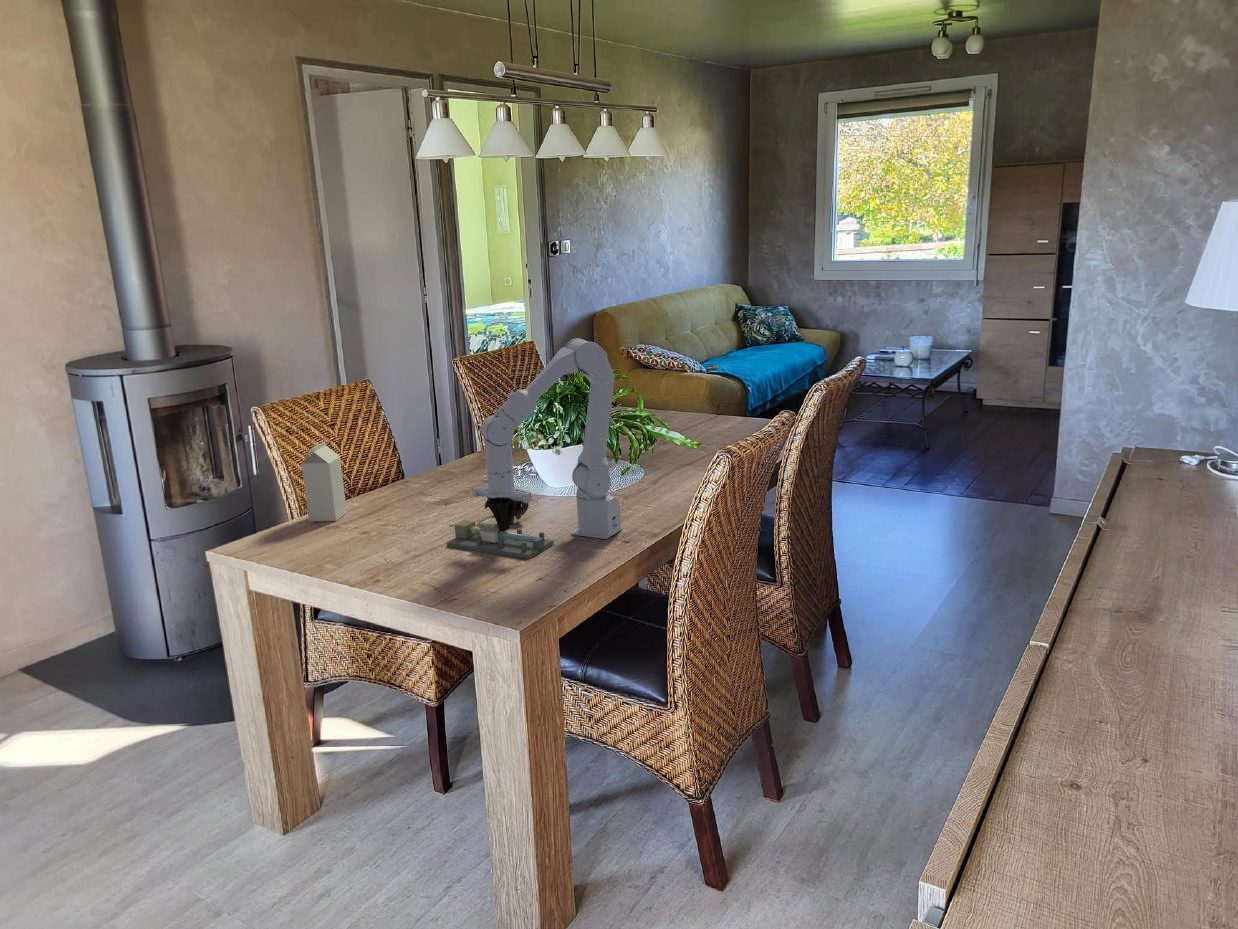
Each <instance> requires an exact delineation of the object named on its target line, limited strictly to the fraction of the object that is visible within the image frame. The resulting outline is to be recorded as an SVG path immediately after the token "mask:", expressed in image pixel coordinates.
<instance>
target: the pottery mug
mask: <svg viewBox="0 0 1238 929" xmlns="http://www.w3.org/2000/svg"><path fill="white" fill-rule="evenodd" d="M486 498H487V499H486V501H485V503H484V510H486V509H487V508H489V507H488V506H487V502H488V501H490V498H489V497H486ZM528 509H529V502H528V503H523V501H518V502H517V504H516V506H515V508H514V510H513V513H512V517H511V522H510V525H514V524H515V523H514V522H515V518H516V520H520V519H521V518H522V516H523V515H525V514H526V513H527V511H528ZM489 518H495V517H494V515H492V516H491V515H490V516H489V517H488V519H489Z"/></svg>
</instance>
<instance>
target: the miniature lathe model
mask: <svg viewBox="0 0 1238 929" xmlns="http://www.w3.org/2000/svg"><path fill="white" fill-rule="evenodd" d="M522 530H523V529H522V528H521V529H520V528H518V529H516V533H515V532H514V533H513V532H507V531H506V532H501V531H498V542H496V543H494V542H488V541H482V539H481V534H480V526H476V522H475V521H473V520H472V521H471V520H467V519H465V520H462V521H459V522H457V523H455V524H454V535H455V537H454V538H452V539H450V540H448V541H446V547H451V548H454V549H456V548H457V549H461V550H466V551H467V550H468V551H473V552H481V553H487V554H493V555H500V556H504V557H506V556H507V557H511V558H512V557H513V558H519V559H524V560H530V559H531V558H533V557H534V556H537V555H538V554H540V553H541V552H544V551H545V550H546V549H549V548H550V547H552V546H554V545H555V542H554V539H549V538H547V539H546V538H545V532H544V531H540V532H538V536H535V535H530V534H529V535H527V534H523V531H522Z"/></svg>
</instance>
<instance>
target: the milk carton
mask: <svg viewBox="0 0 1238 929" xmlns="http://www.w3.org/2000/svg"><path fill="white" fill-rule="evenodd" d="M306 456H307V458H305V460H304V461H303V462H302V463H301V472H302V479H303V488H304V493H305V494H304V495H305V501H306V511H307V515H308V516H307V518H308V522H337V521H338V520H339V519H342V517H343V516H345V515H346V514H347V512H348V511H347V502H346V495H345V487H344V479H343V478H344V477H343V470H342V462H341V456H340V455H339V454H337V453H336V452H335V451H334V450H332V449H331V448H330V447H328V446H327V445H326V441H325V440H323V441H322V442H321V443H318V444H317V445H315V446H313V447H312V448H310V450H309V451H308V452H306Z"/></svg>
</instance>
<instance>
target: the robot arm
mask: <svg viewBox="0 0 1238 929" xmlns="http://www.w3.org/2000/svg"><path fill="white" fill-rule="evenodd" d="M579 371H580V372H581V374H582V375H583V376H584V377H585V378H586V379H587V381H589V382H590V384H589V393H588V402H587V410H586V420H585V427H584V435H583V436H584V438H583V446H582V451H581V453H580V454H579V455H578V458H577V463H576V465H575V467H574V468H573V470H572V473H571V478H572V483H574V486H576V487H577V490H576V494H575V495H576V510H577V511H576V512H577V528H576V529H574V530H572V531H571V532H570V535H573V536H581V537H586V538H587V537H588V538H595V539H601V540H602V539H603V540H607V539H609V538H610V537H612V536H613V535H615V534H617V533H618V532H620V531H622V530H623V526H622V523H621V522H622V521H621V520H622V519H621V503H620V501H619V499H618V498H617V497H615V496H612V495H610V494H609V491H610V489H611V486H612V482H611V481H612V480H611V476H610V473H609V472H610V471H609V469H610V465H609V461H608V459H607V455H606V454H607V446H608V437H609V430H610V424H611V423H610V421H611V413H612V405H613V396H614V390H615V380H616V379H615V378H616V376H615V373H614V371H613V369H612V366H611V364H610V361H609V360H608V353H607V351H605V350H604V349H603V348H602V347H601V346H600V345H599V344H598V343H597V342H594V341H587V340H585V339H583V338H579V337H578V338H576V337H575V338H572V339H571V340H569V341H567V343H566V344H565V346H562V347H561V348H560V349H559V350H558V351H557V352H556V354H554V357H553V358H552V359H551V360H549V362H548V363H547V364H546V365H545V367H544V368H543V369H542V370H541V371H540V372H539V373H538V374H537V375H536V377H535V378H534V379H533V380H532V381H531V382H530V384H529V385H528V386H527V387H526V388H524V389H516V390H515V392H513V391H511V392H510V393H508V395H507V397H508V399H507V400H505V402H504V403H502V405H501V406H500V407H499V408H498V409H494V410H493V411H492V413H493V415H488V416H487V417H486V418H484V419H483V422H482V424H481V428H480V429H479V433H480V435H481V436H482V438H484V447H485V448H484V449H485V450H484V453H485V465H486V466H485V467H486V477H487V478H486V479H487V480H486V481H487V485H485V486H482V485H476V486H474V487H472V490H471V491H472V496H473V497H474V498H475V497H476V498H477V497H484V498H487V497H489V498H490V501H488V502H487V506H488V507H487V508H488V509H489V510H490V511H491V513H492V516H494V517H495V519H496V522H497V524H498V527H499V530H500V531H503V532H505V531H506V532H507V531H509V530H510V526H511V524H510V522H511V517H512V513H513V510H514V508H515V506H516V504H517V502H518V501H523V503H528V504H529V503H530V502H531V501H533V498H532V496H533V494H532V491H526V490H523V489H520V488H516V487H515V479H514V464H513V452H512V451H513V449H512V444H511V441H512V440H513V438H514V436H515V430H517V429H518V428H519V427H520V426H521V425H522V423H524V422H525V420H527V419H528V417H529V416H530V415H532V413H534V411H536V409H537V401H538V399H539V398H540V397H541V396H543V395H544V394H545V392H547V391H548V390H549V389H550V388H551V387H552V386H554V384H555V383H556V382H557V381H558V380H559V379H560V378H562V377H563V376H564V375H571V374H576V373H579Z"/></svg>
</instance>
